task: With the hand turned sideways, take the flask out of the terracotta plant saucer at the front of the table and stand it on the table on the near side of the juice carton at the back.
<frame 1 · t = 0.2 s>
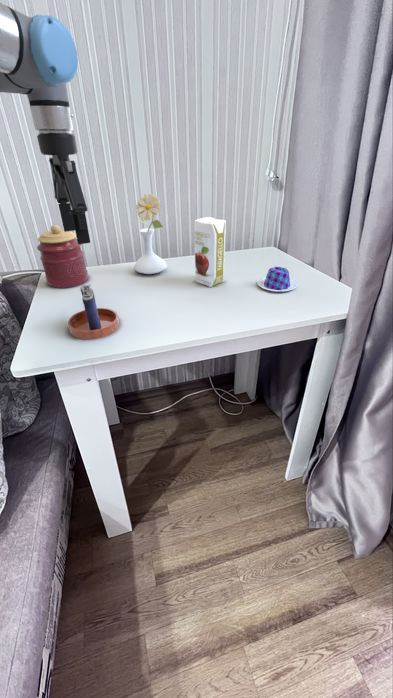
hand: (76, 236, 79), 19 cm above the table, tool pointing down, fingers open, 13 cm apart
juice carton: (209, 282, 104), on the table
pudding: (276, 286, 101), on the table
terracotta plant saucer: (94, 326, 81), on the table
flask: (94, 325, 81), resting in terracotta plant saucer
kitchen canister: (68, 281, 106), on the table
flower in vase: (152, 272, 112), on the table
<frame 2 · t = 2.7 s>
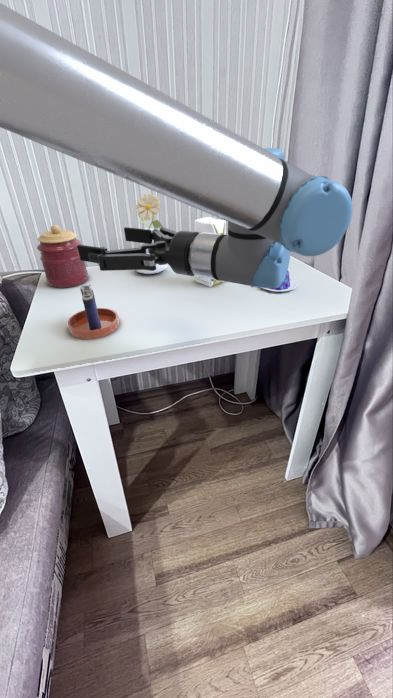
hand: (104, 242, 65), 22 cm above the table, tool horizontal, fingers open, 13 cm apart
nothing on the table moved.
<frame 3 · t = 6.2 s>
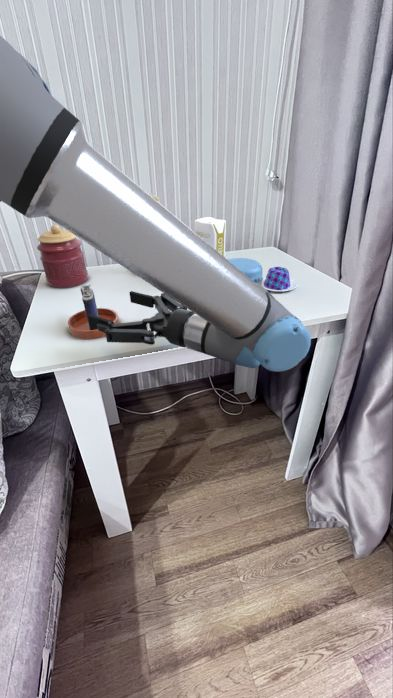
hand: (111, 307, 74), 7 cm above the table, tool horizontal, fingers open, 13 cm apart
nothing on the table moved.
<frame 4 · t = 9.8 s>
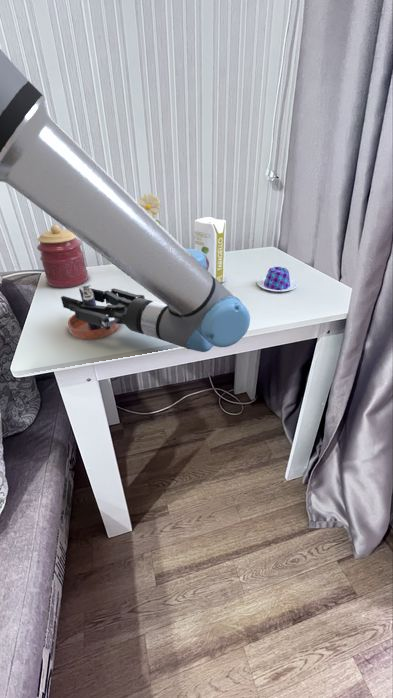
hand: (73, 296, 79), 7 cm above the table, tool horizontal, fingers closed on flask, 6 cm apart
flask: (94, 325, 81), resting in terracotta plant saucer, touching gripper
everything else where it was.
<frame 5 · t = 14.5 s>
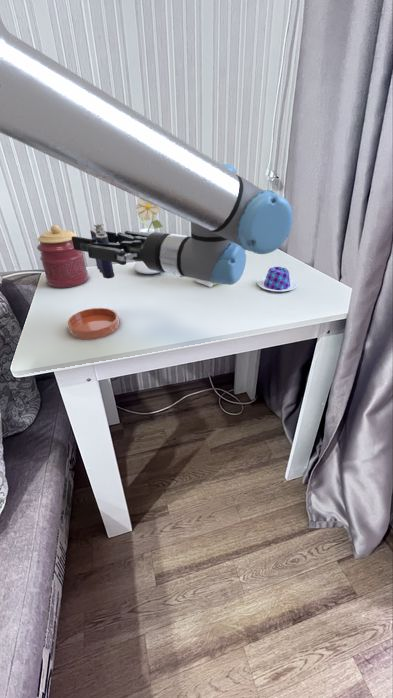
hand: (84, 239, 74), 20 cm above the table, tool horizontal, fingers closed on flask, 6 cm apart
flask: (106, 272, 75), point 13 cm above the table, touching gripper
everything else where it was.
when the fingers open (7 cm above the table, at t = 19.7 s): flask stays where it is, on the table.
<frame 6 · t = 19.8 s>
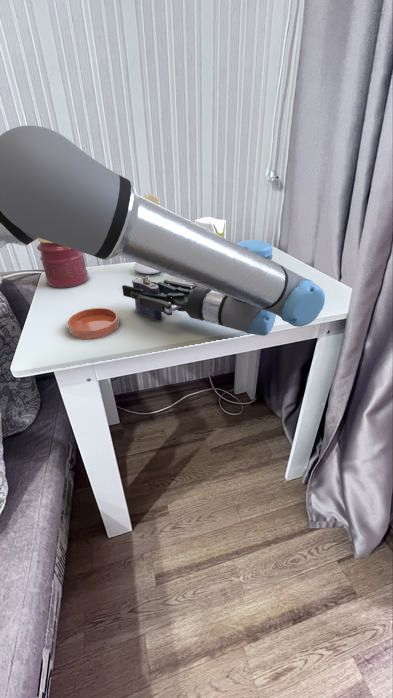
hand: (130, 286, 85), 7 cm above the table, tool horizontal, fingers open, 4 cm apart
flask: (149, 315, 86), on the table
everything else where it was.
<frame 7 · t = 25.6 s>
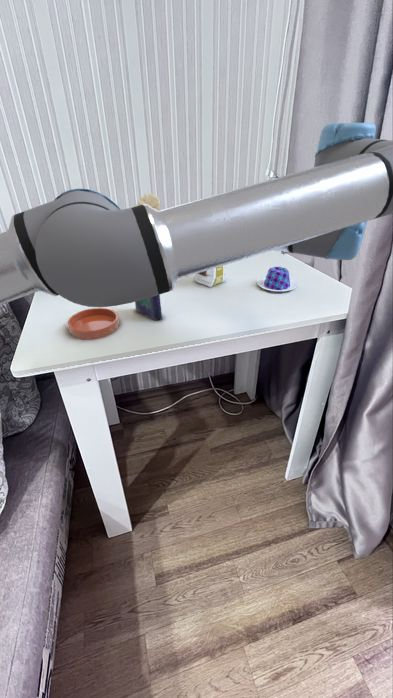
hand: (173, 217, 68), 25 cm above the table, tool horizontal, fingers open, 13 cm apart
nothing on the table moved.
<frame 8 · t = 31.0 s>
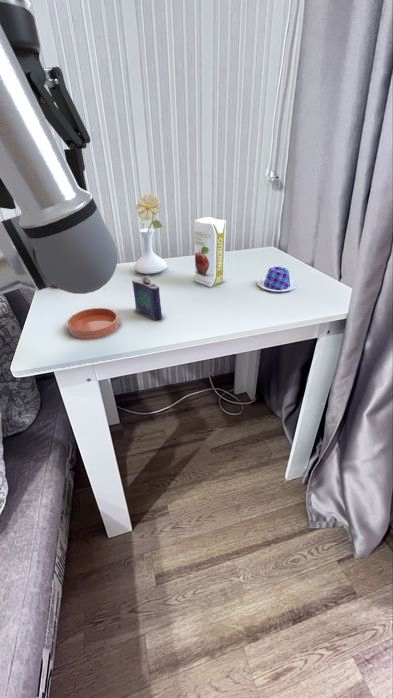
hand: (47, 200, 50), 32 cm above the table, tool pointing down, fingers open, 13 cm apart
nothing on the table moved.
at the end: flask inside the target area on the table beside the juice carton (0.4 cm from its centre), on the table; flask tilted 0°; the gripper is holding nothing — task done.
